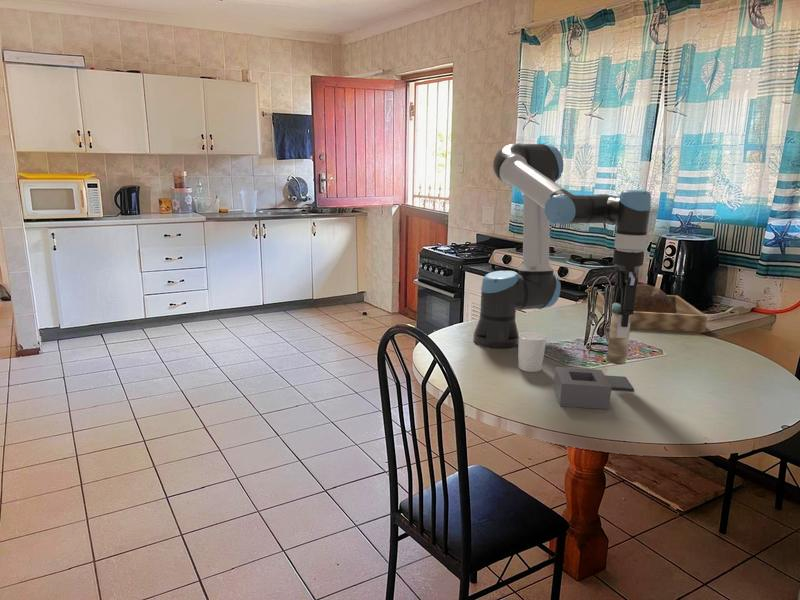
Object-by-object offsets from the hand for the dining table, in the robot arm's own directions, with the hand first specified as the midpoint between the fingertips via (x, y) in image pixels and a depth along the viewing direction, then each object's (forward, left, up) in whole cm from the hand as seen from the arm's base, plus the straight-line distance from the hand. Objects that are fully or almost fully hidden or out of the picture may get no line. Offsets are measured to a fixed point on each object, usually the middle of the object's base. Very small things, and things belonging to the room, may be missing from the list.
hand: (619, 334), depth 160 cm
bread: (+27, +75, -15) cm, 81 cm away
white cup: (-22, +8, -15) cm, 28 cm away
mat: (0, 0, -14) cm, 14 cm away
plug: (0, 0, -8) cm, 8 cm away
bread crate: (+29, +74, -14) cm, 81 cm away
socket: (-11, -12, -14) cm, 22 cm away
